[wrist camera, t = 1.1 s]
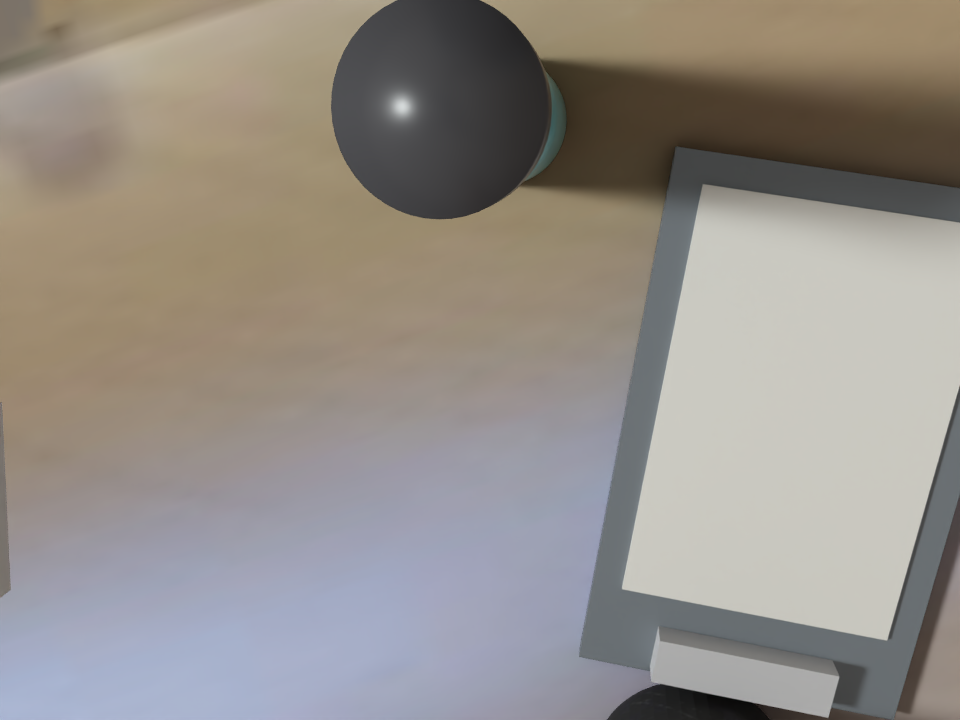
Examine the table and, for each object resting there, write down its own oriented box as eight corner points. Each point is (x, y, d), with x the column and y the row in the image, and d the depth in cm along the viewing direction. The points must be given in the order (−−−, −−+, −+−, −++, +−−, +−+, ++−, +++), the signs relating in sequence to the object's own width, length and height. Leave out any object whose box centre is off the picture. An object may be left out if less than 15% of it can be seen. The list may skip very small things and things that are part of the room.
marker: (447, 42, 29) (343, -22, 18) (581, 61, 29) (564, 7, 17) (430, 178, 30) (321, 201, 19) (559, 198, 30) (529, 234, 18)
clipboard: (675, 146, 29) (679, 146, 27) (1037, 199, 28) (1062, 202, 26) (579, 647, 33) (578, 672, 32) (888, 709, 32) (902, 738, 31)
